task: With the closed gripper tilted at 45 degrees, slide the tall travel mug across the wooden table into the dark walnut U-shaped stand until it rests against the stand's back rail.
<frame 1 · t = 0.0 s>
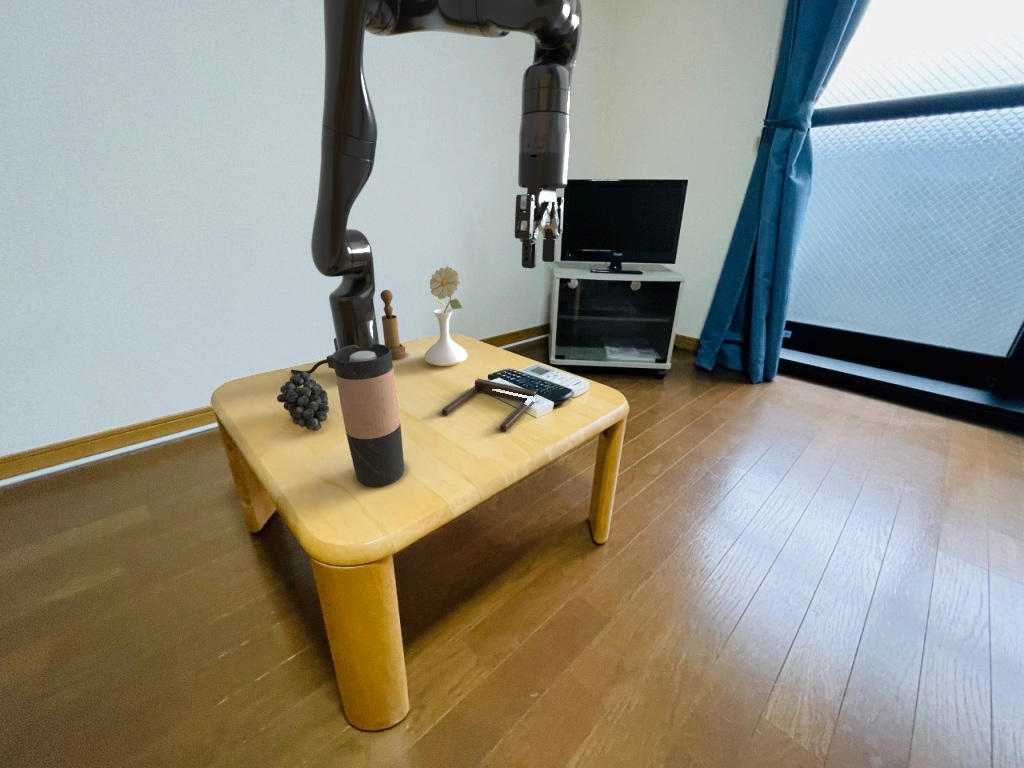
hand: (539, 264, 65), 29 cm above the table, tool pointing down, fingers open, 8 cm apart
fruit: (308, 422, 75), on the table
flower in vase: (448, 363, 104), on the table
travel mug: (381, 474, 61), on the table
walnut stand: (489, 408, 81), on the table
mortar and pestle: (393, 356, 108), on the table
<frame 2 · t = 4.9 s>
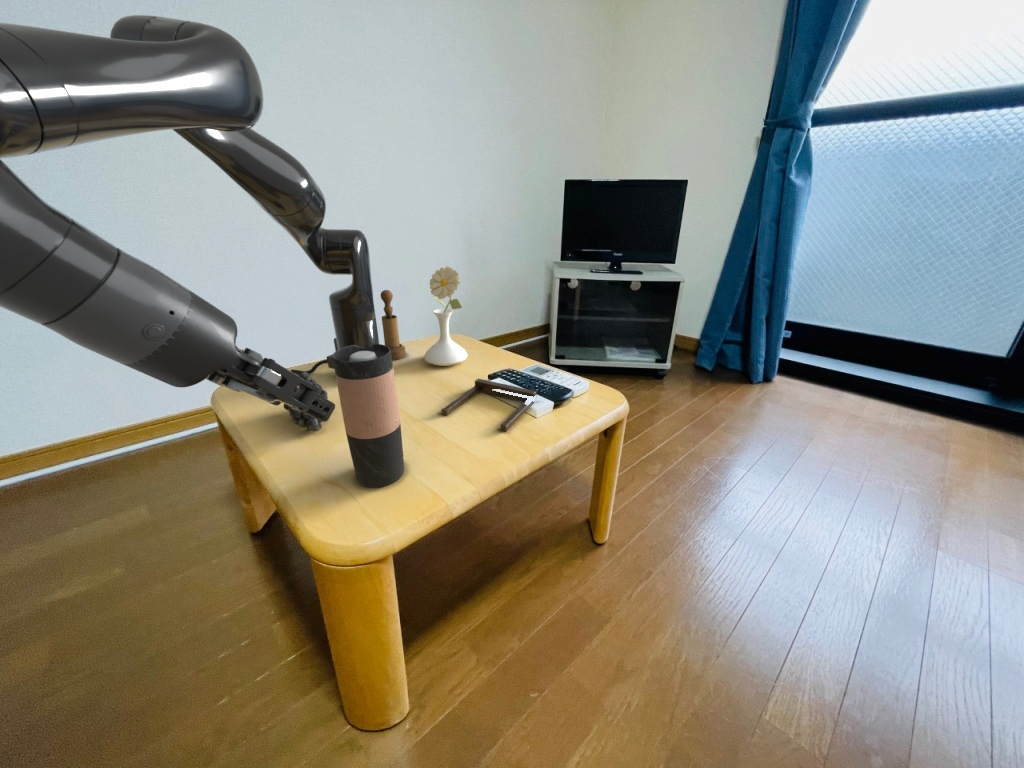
hand: (304, 405, 45), 17 cm above the table, tool tilted 40°, fingers open, 8 cm apart
nothing on the table moved.
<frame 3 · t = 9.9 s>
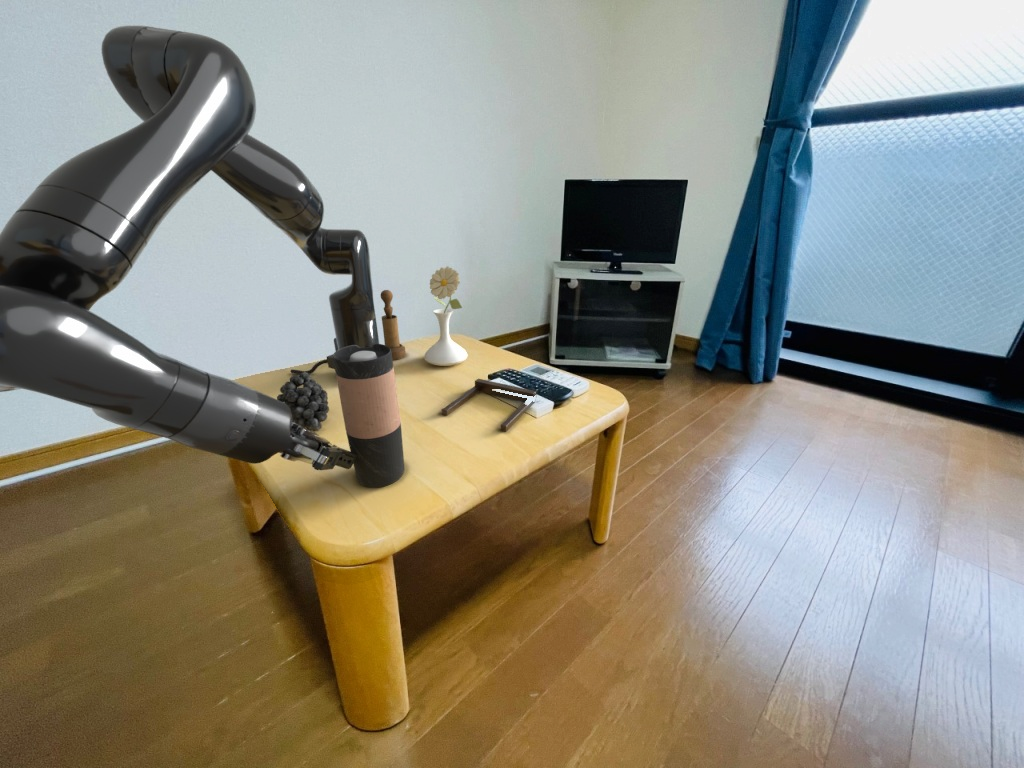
hand: (350, 460, 56), 5 cm above the table, tool tilted 45°, fingers closed
travel mug: (381, 474, 61), on the table, touching gripper
everything else where it was.
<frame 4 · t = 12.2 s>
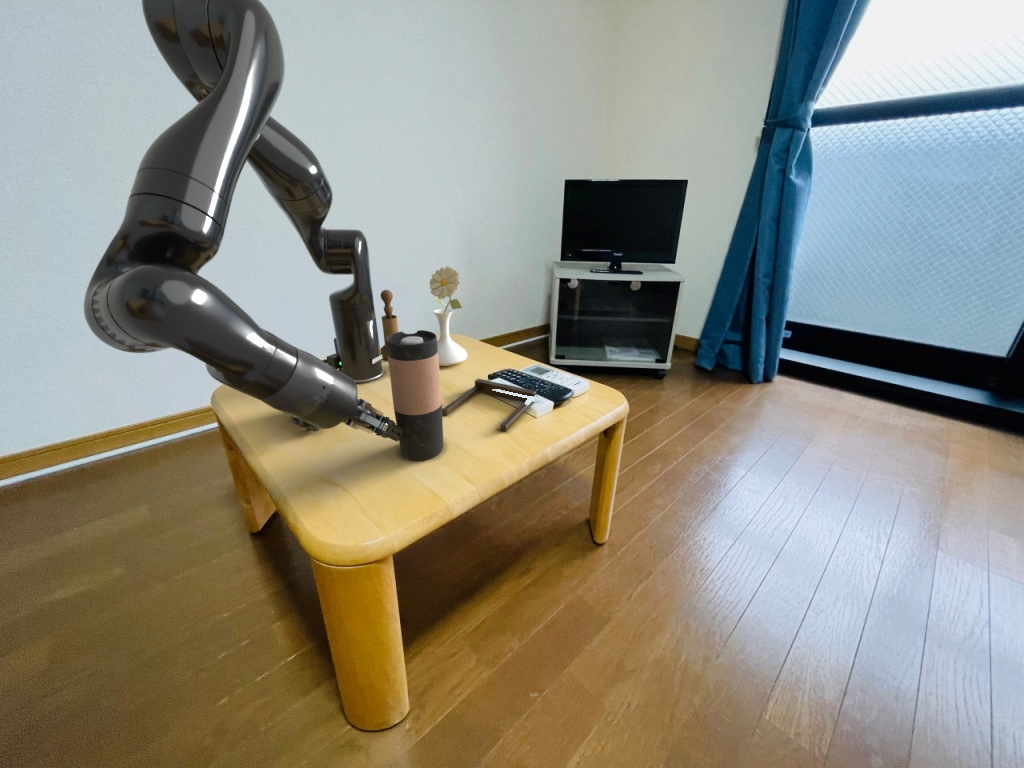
hand: (398, 434, 62), 5 cm above the table, tool tilted 45°, fingers closed
travel mug: (422, 449, 67), on the table, touching gripper
everything else where it was.
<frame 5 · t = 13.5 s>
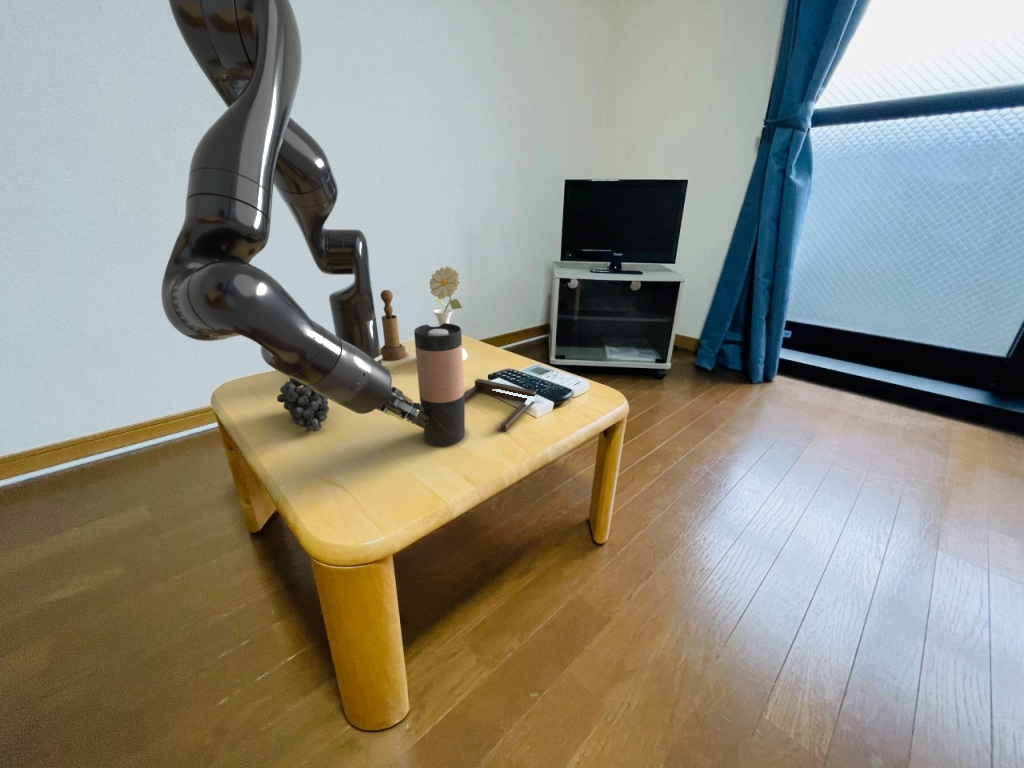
hand: (424, 421, 66), 5 cm above the table, tool tilted 45°, fingers closed
travel mug: (445, 436, 71), on the table, touching gripper
everything else where it was.
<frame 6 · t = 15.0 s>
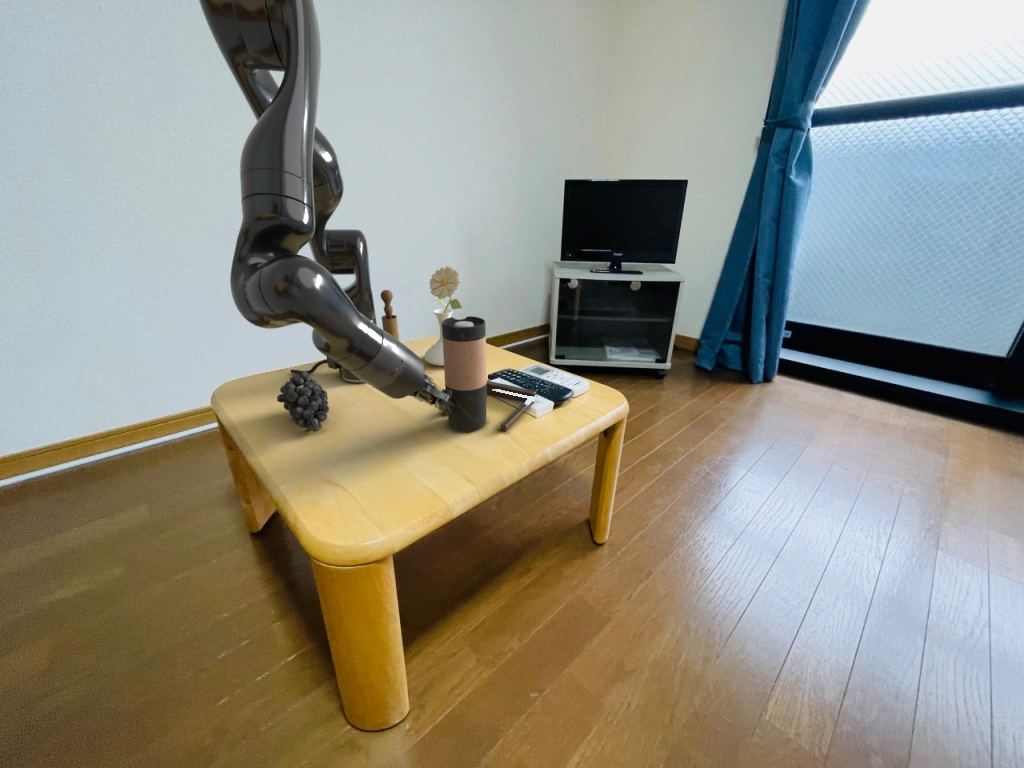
hand: (450, 408, 70), 5 cm above the table, tool tilted 45°, fingers closed
travel mug: (467, 423, 75), on the table, touching gripper
everything else where it was.
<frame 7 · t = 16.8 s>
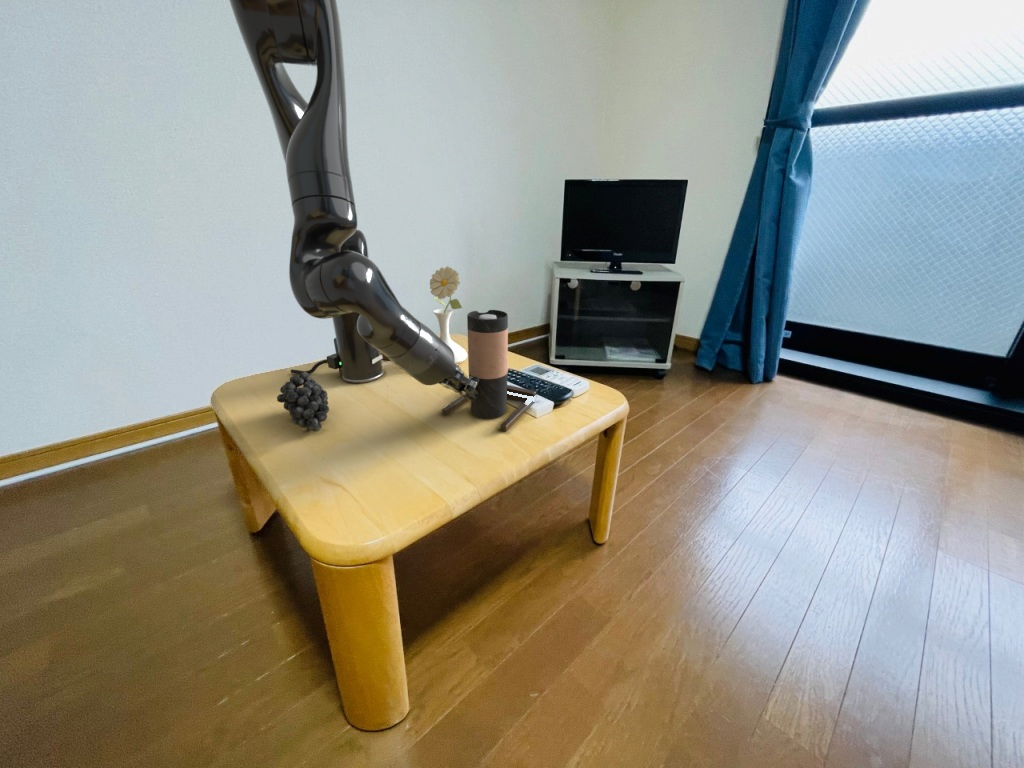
hand: (473, 396, 75), 5 cm above the table, tool tilted 45°, fingers closed
travel mug: (488, 411, 80), on the table, touching gripper
everything else where it was.
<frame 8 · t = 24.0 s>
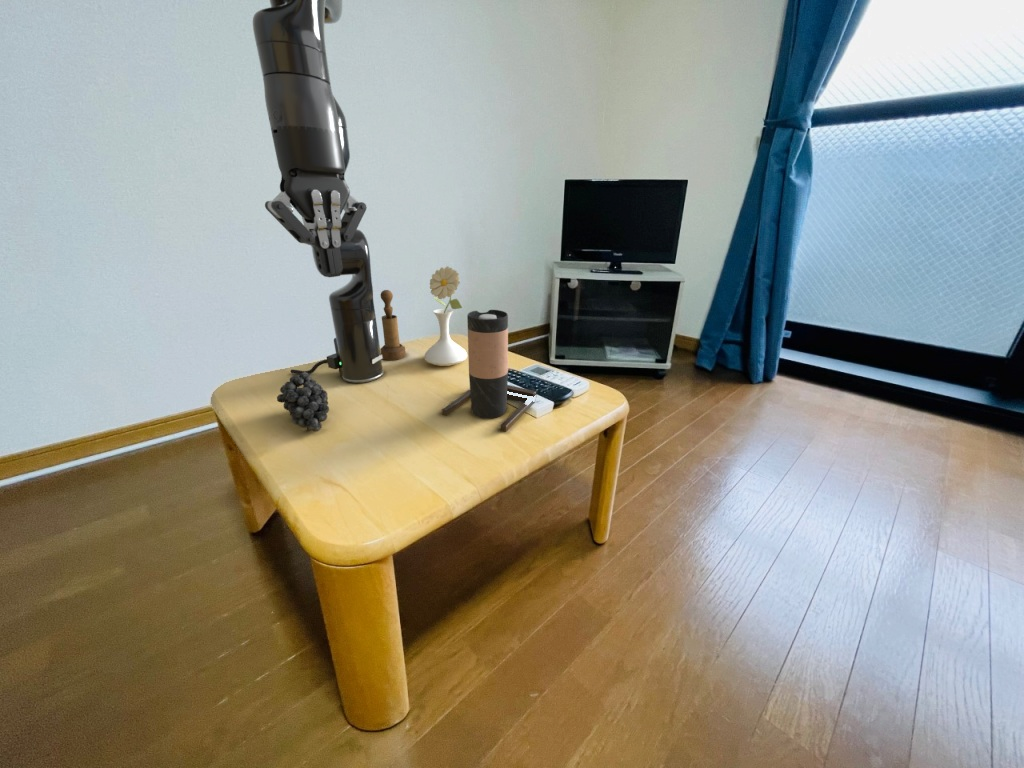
hand: (331, 276, 54), 29 cm above the table, tool pointing down, fingers closed
travel mug: (489, 411, 80), on the table
everything else where it was.
at the end: travel mug inside the target area on the walnut stand (0.4 cm from its centre), point 0.0 cm above the walnut stand's base; travel mug tilted 0° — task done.
